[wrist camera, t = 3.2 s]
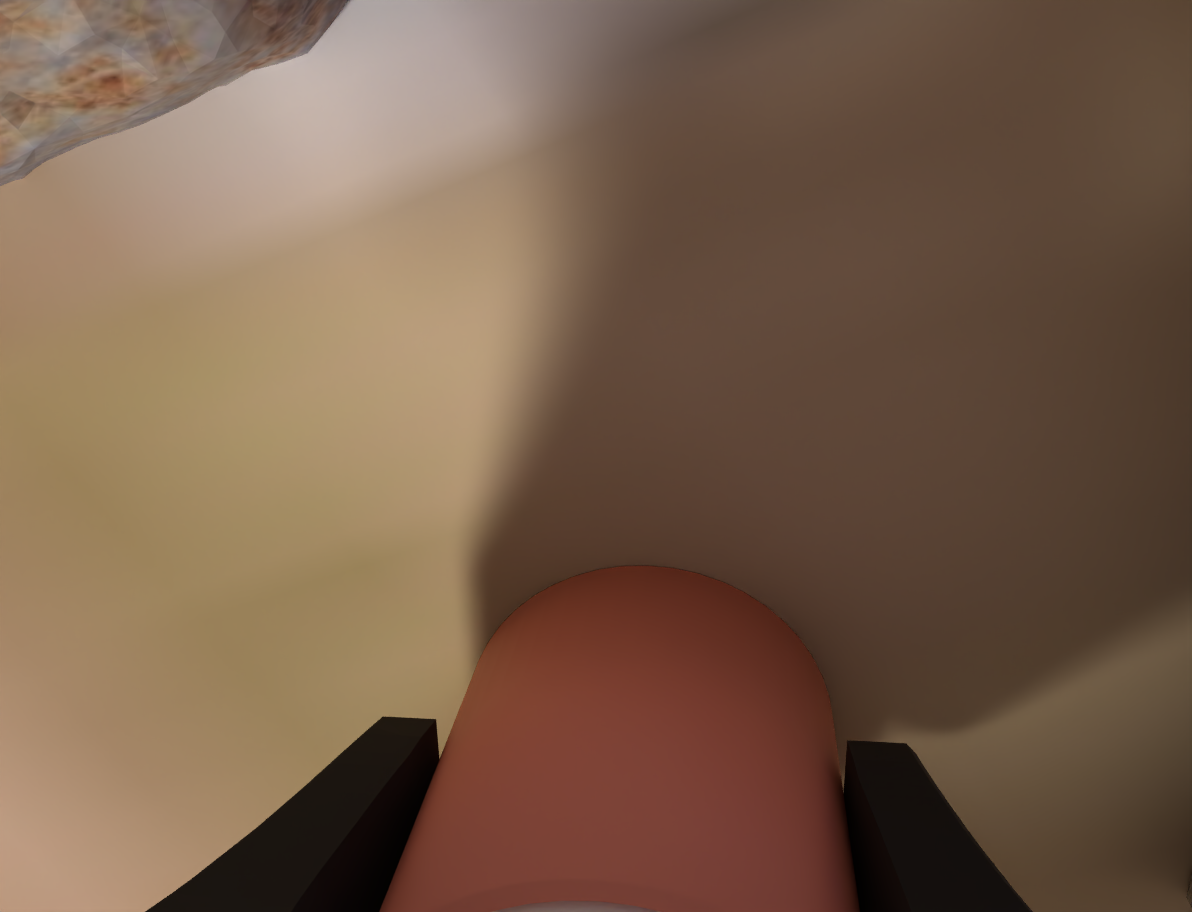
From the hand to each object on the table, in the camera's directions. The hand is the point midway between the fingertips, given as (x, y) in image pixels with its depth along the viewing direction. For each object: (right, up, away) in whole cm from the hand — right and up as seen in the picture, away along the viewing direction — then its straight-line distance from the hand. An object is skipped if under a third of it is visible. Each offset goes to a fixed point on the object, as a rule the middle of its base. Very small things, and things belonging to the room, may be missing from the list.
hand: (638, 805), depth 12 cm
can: (0, +1, +1) cm, 1 cm away
